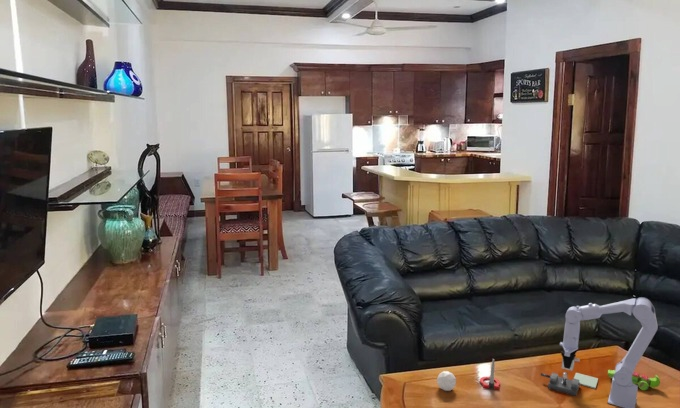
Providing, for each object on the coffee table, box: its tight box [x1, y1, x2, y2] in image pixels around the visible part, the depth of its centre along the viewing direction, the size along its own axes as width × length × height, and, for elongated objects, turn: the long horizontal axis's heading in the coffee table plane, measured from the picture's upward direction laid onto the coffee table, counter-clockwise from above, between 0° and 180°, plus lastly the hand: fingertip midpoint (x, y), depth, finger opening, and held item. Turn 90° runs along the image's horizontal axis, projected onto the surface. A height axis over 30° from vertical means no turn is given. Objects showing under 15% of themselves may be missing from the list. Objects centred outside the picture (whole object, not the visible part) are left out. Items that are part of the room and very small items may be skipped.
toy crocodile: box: [607, 369, 661, 391], centre depth 226 cm, size 20×7×6 cm, turn 59°
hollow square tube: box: [561, 357, 581, 372], centre depth 219 cm, size 6×4×5 cm
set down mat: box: [573, 372, 599, 390], centre depth 227 cm, size 9×9×1 cm
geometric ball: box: [436, 370, 457, 392], centre depth 217 cm, size 8×8×8 cm
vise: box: [540, 371, 581, 397], centre depth 222 cm, size 15×9×6 cm, turn 58°
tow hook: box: [479, 358, 501, 390], centre depth 222 cm, size 8×13×9 cm
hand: (567, 365), depth 220 cm, fingers closed on hollow square tube, 4 cm apart
